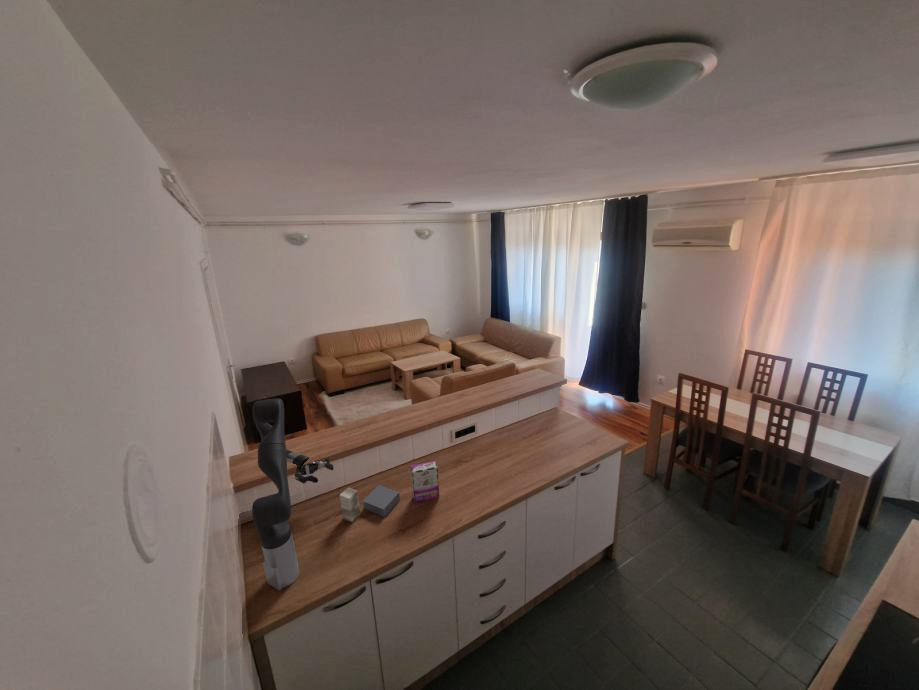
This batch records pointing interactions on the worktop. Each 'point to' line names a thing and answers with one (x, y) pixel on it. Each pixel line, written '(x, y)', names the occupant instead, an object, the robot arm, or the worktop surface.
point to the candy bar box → (425, 481)
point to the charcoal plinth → (381, 500)
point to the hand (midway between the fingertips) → (325, 474)
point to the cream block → (350, 504)
